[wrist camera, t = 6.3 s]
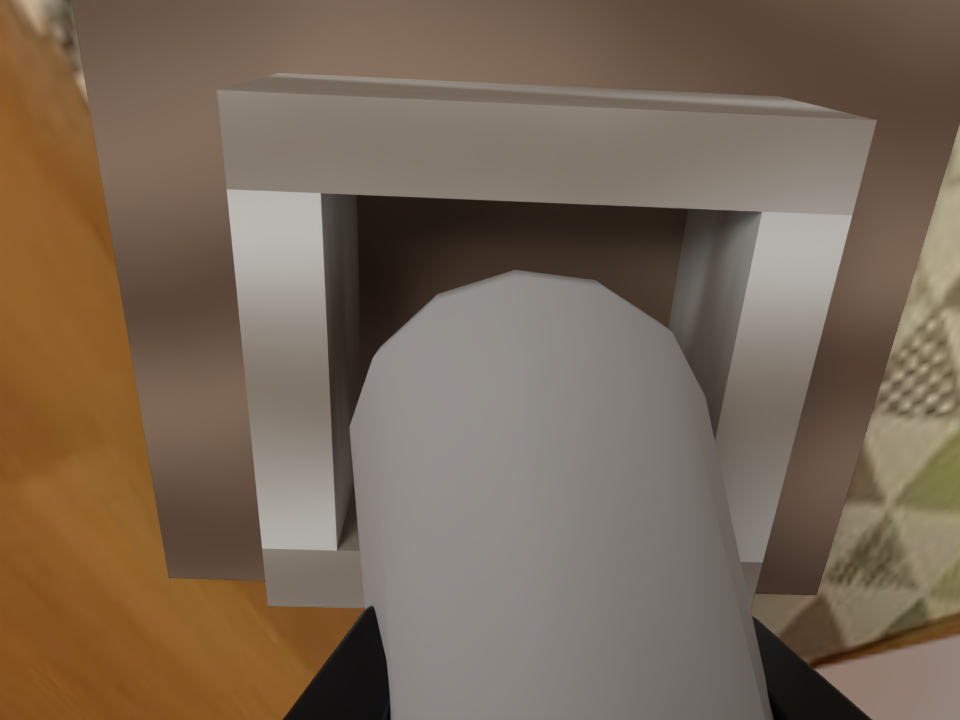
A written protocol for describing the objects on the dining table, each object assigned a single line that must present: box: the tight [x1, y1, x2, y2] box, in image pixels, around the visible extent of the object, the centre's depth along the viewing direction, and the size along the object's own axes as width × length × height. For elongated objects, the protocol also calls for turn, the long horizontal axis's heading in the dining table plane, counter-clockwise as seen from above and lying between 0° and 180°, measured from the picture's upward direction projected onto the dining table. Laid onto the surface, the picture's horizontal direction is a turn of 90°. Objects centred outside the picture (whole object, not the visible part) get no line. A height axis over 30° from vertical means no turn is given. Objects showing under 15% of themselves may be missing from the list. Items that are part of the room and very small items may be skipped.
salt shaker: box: [349, 270, 774, 720], centre depth 8 cm, size 6×6×13 cm
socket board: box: [72, 0, 960, 609], centre depth 16 cm, size 16×18×5 cm
